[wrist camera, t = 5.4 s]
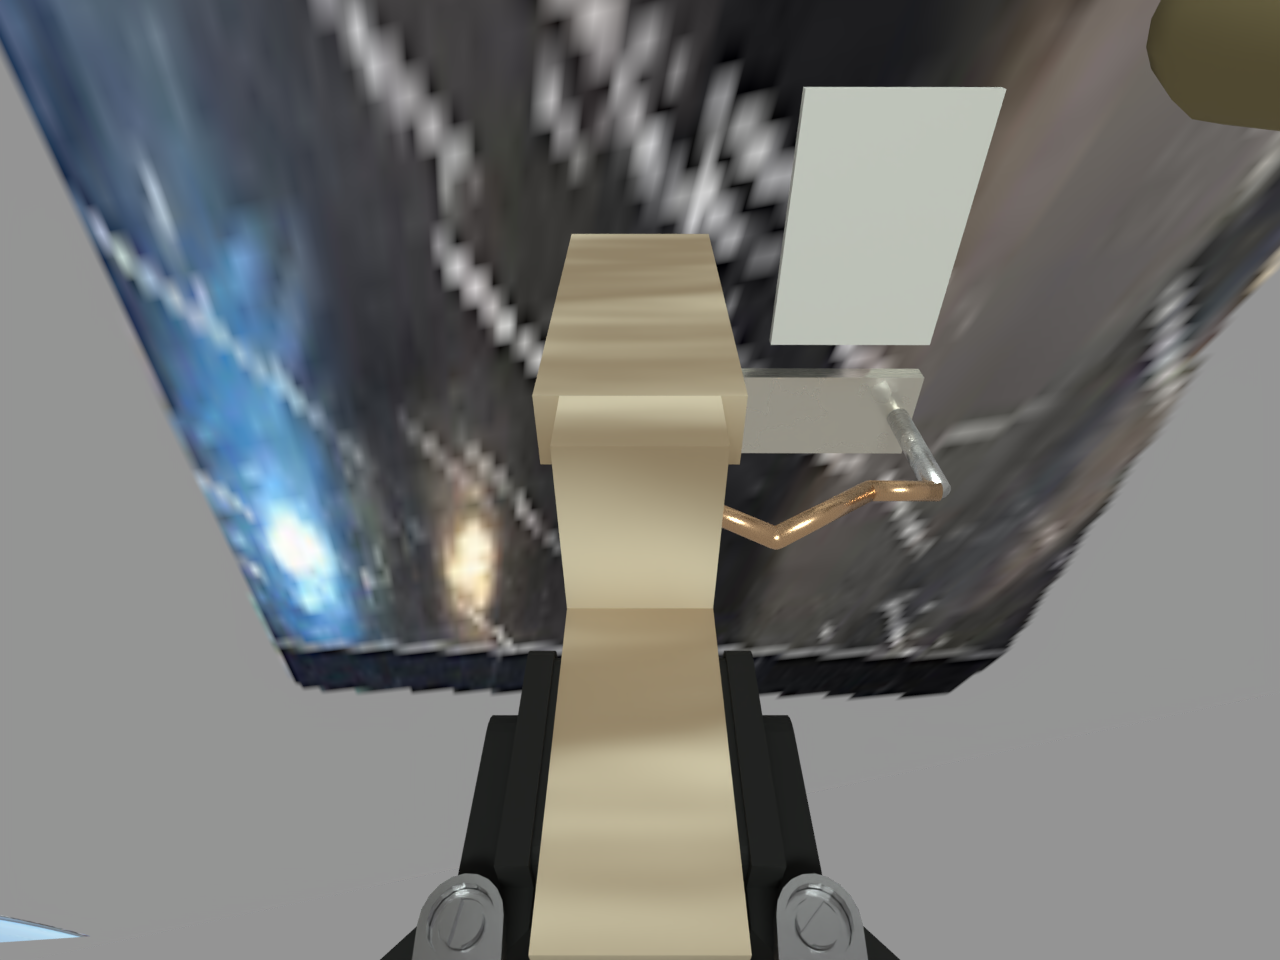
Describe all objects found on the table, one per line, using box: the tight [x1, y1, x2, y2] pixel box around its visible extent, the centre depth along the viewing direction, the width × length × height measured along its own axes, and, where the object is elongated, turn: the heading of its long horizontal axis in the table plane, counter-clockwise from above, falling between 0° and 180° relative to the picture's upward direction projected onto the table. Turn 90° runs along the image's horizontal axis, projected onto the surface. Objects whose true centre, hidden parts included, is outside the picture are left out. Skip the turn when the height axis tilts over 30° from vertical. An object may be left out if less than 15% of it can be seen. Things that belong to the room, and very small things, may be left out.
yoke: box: [528, 234, 752, 960], centre depth 16 cm, size 11×4×17 cm, turn 0°
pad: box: [769, 87, 1006, 345], centre depth 37 cm, size 14×10×1 cm
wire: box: [722, 368, 951, 550], centre depth 40 cm, size 6×22×14 cm, turn 90°
